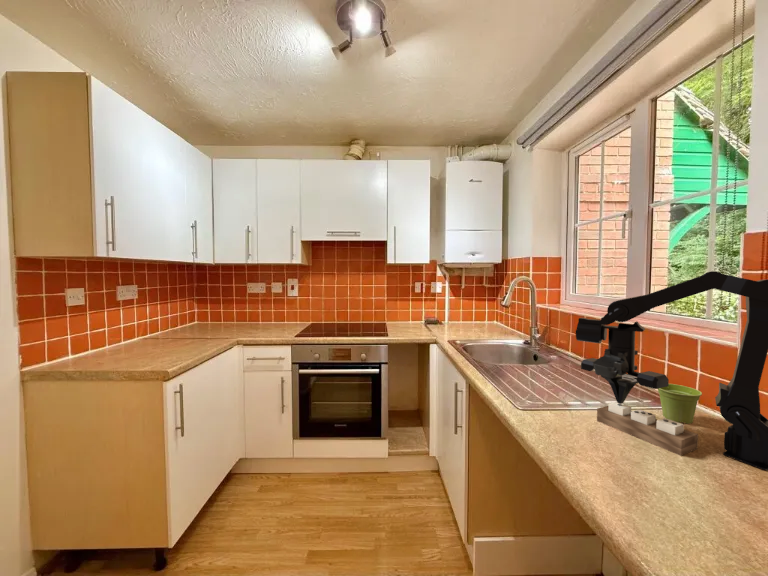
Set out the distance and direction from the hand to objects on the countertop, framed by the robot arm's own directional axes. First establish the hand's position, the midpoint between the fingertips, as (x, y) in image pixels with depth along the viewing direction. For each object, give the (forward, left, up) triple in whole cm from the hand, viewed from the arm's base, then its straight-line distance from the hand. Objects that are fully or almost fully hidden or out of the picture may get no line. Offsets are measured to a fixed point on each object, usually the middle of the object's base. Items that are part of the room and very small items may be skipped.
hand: (620, 403), depth 84 cm
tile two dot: (-11, 0, -3) cm, 11 cm away
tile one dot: (0, 0, -3) cm, 3 cm away
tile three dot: (-5, 0, -3) cm, 6 cm away
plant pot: (-4, -18, -6) cm, 20 cm away
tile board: (-5, 0, -6) cm, 8 cm away
